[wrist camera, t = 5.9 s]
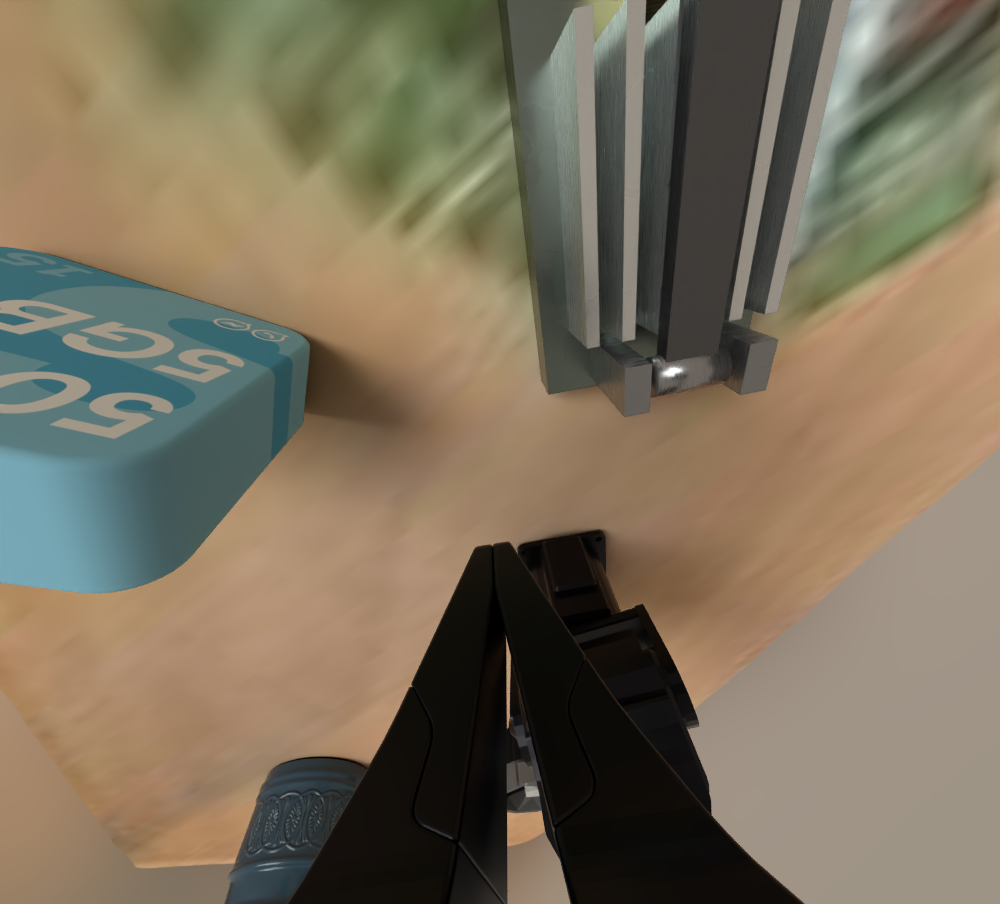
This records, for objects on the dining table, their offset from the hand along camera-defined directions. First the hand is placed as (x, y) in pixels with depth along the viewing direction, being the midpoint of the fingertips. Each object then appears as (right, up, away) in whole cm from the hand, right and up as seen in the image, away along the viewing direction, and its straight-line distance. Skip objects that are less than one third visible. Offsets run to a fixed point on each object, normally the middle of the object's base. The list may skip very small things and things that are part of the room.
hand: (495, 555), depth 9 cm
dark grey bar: (+7, +11, +3) cm, 13 cm away
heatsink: (+6, +14, +7) cm, 17 cm away
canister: (-23, -39, +37) cm, 59 cm away
